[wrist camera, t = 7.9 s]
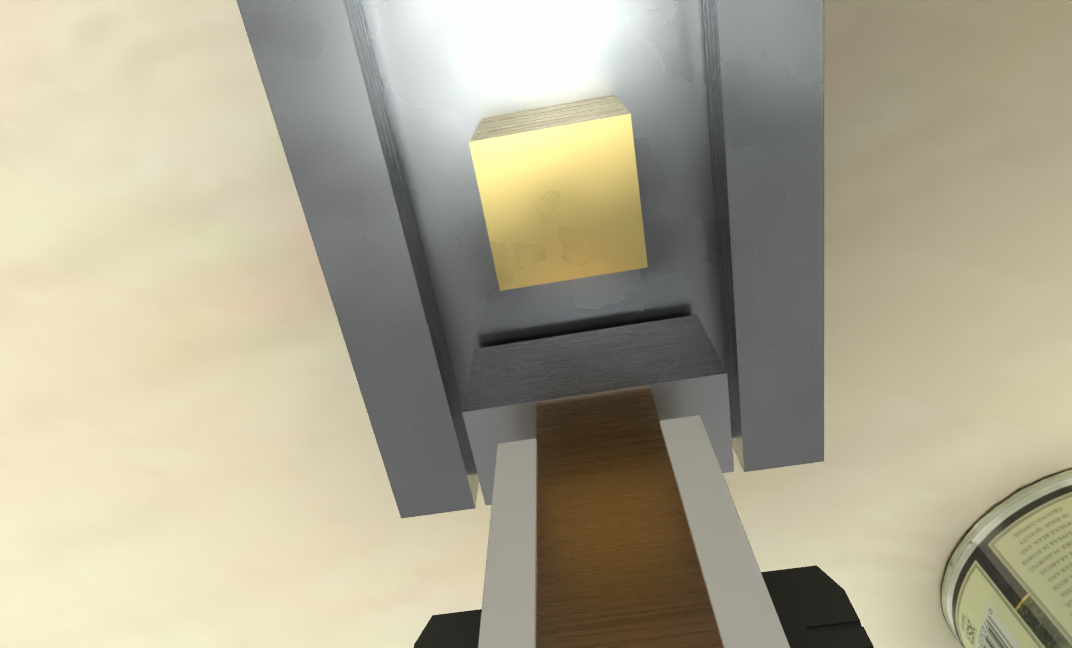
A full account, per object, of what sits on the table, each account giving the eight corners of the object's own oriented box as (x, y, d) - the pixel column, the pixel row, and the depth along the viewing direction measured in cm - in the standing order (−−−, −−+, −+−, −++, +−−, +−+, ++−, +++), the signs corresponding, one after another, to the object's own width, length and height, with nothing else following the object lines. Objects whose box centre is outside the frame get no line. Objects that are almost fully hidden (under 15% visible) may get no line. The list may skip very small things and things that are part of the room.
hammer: (697, 314, 17) (974, 860, 6) (704, 401, 18) (953, 1000, 7) (474, 348, 18) (366, 914, 7) (493, 431, 19) (427, 1040, 8)
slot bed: (749, -492, 14) (861, -757, 9) (776, 357, 23) (844, 458, 18) (197, -361, 15) (30, -539, 10) (416, 410, 23) (382, 520, 18)
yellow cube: (614, 94, 15) (630, 113, 13) (629, 224, 17) (647, 267, 14) (481, 118, 16) (468, 142, 13) (506, 244, 17) (499, 290, 14)
